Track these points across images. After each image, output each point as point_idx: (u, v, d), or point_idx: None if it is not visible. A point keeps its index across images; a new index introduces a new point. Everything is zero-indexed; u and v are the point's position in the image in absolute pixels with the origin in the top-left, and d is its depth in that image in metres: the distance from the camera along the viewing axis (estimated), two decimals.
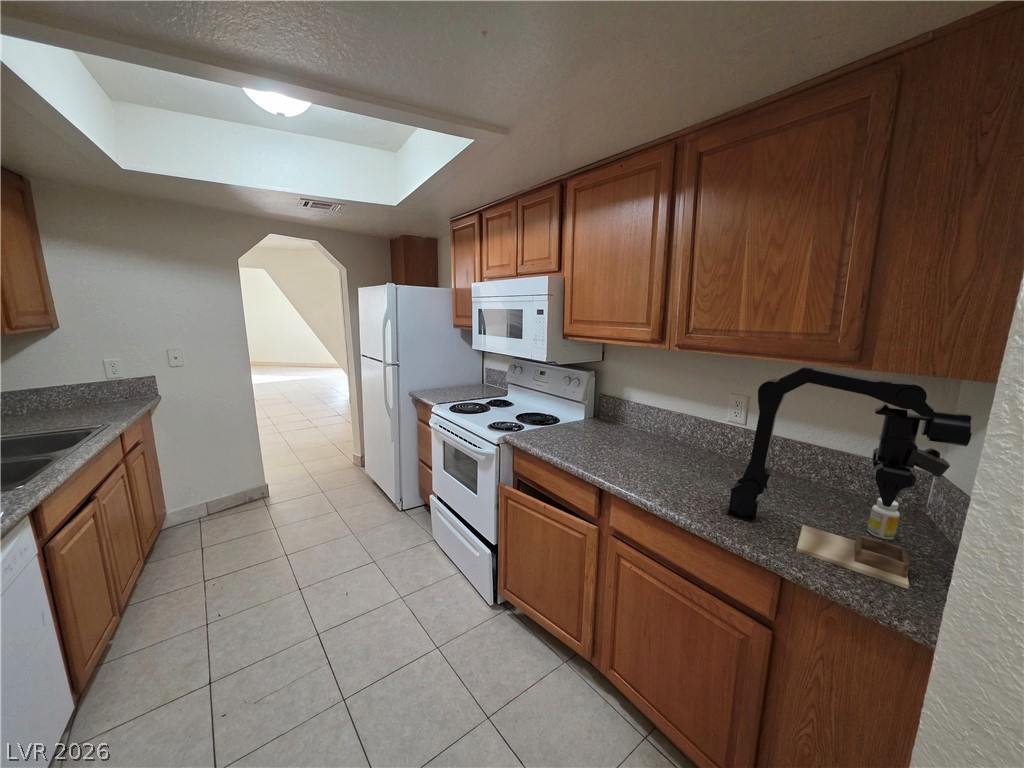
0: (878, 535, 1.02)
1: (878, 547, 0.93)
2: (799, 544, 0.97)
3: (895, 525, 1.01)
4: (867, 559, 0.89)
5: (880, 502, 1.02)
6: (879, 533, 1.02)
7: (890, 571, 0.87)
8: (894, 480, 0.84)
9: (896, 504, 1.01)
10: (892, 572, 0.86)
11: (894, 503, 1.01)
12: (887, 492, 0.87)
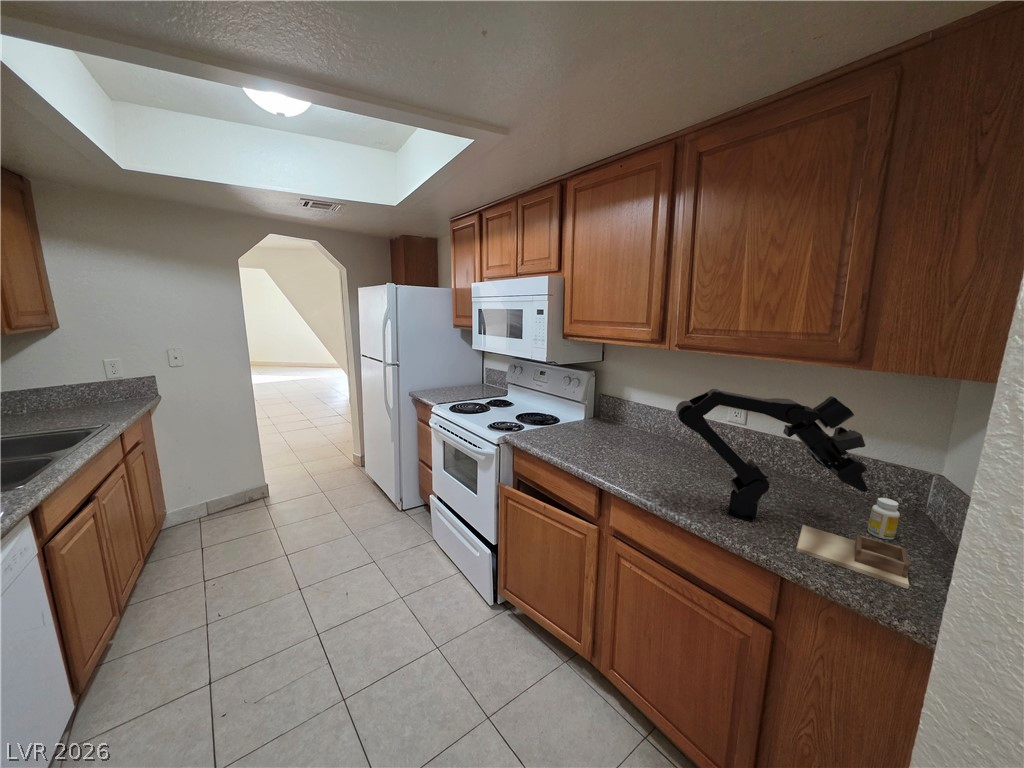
0: (878, 535, 1.02)
1: (878, 547, 0.93)
2: (799, 544, 0.97)
3: (895, 525, 1.01)
4: (867, 559, 0.89)
5: (880, 502, 1.02)
6: (879, 533, 1.02)
7: (890, 571, 0.87)
8: (854, 475, 0.95)
9: (896, 504, 1.01)
10: (892, 572, 0.86)
11: (894, 503, 1.01)
12: (856, 482, 0.98)
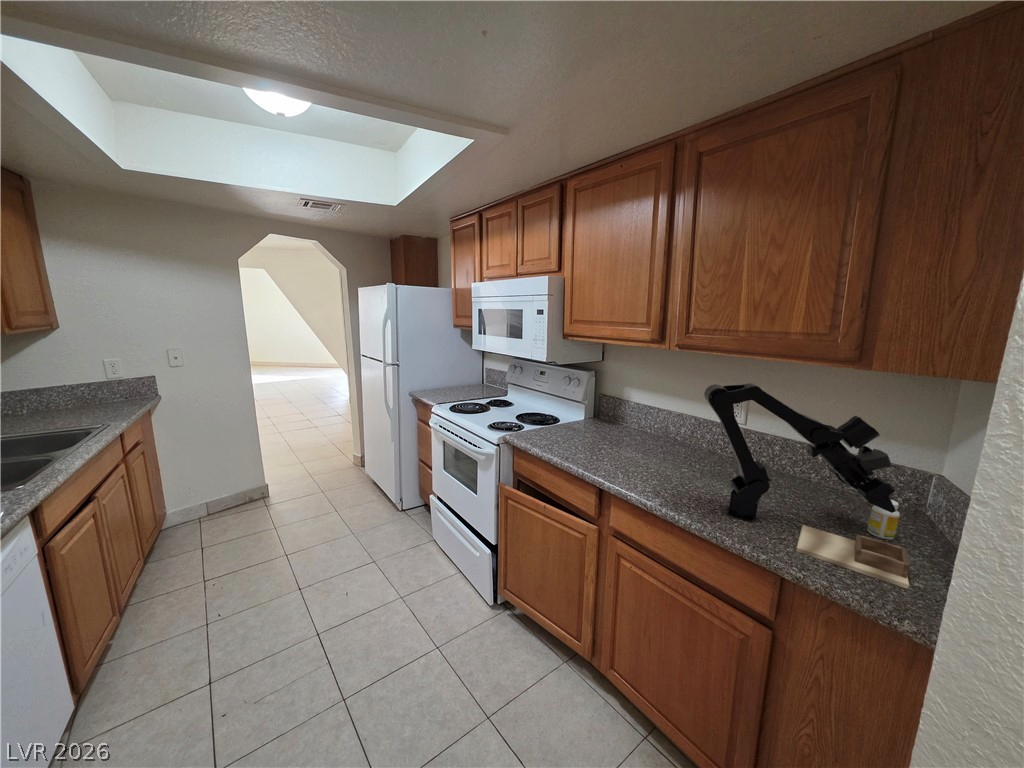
0: (878, 535, 1.02)
1: (878, 547, 0.93)
2: (799, 544, 0.97)
3: (895, 525, 1.01)
4: (867, 559, 0.89)
5: None
6: (879, 533, 1.02)
7: (890, 571, 0.87)
8: (882, 496, 0.94)
9: (896, 504, 1.01)
10: (892, 572, 0.86)
11: (894, 503, 1.01)
12: (884, 503, 0.98)
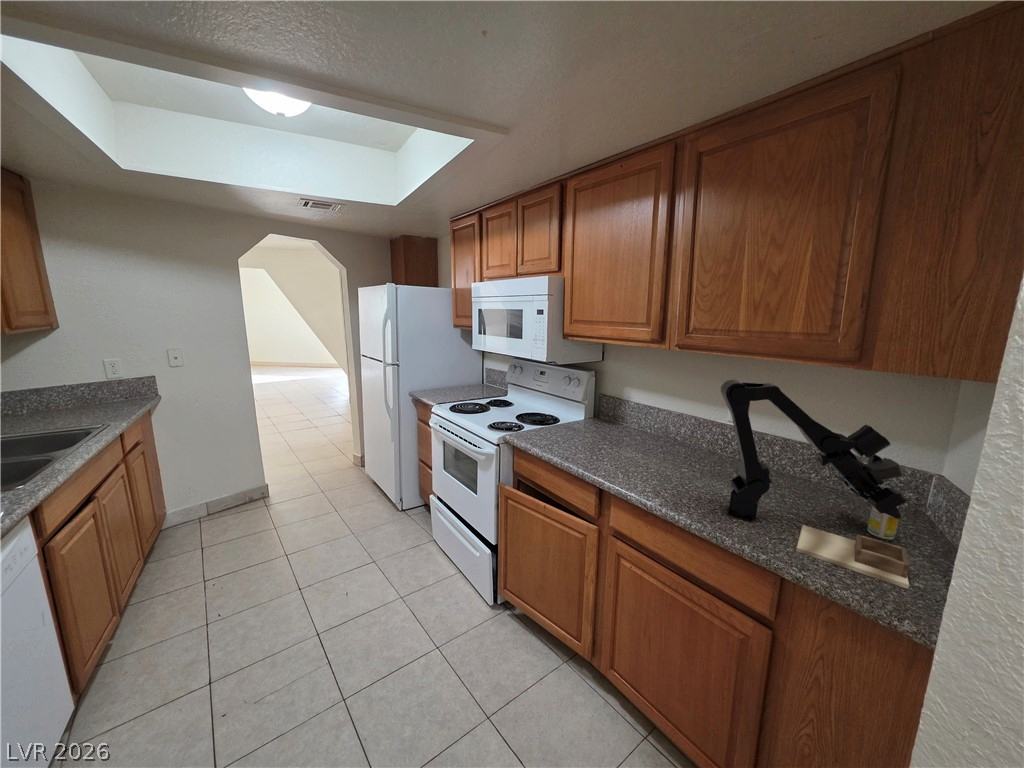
0: (878, 535, 1.02)
1: (878, 547, 0.93)
2: (799, 544, 0.97)
3: (895, 525, 1.01)
4: (867, 559, 0.89)
5: None
6: (879, 533, 1.02)
7: (890, 571, 0.87)
8: (893, 506, 0.94)
9: None
10: (892, 572, 0.86)
11: None
12: (890, 509, 0.99)
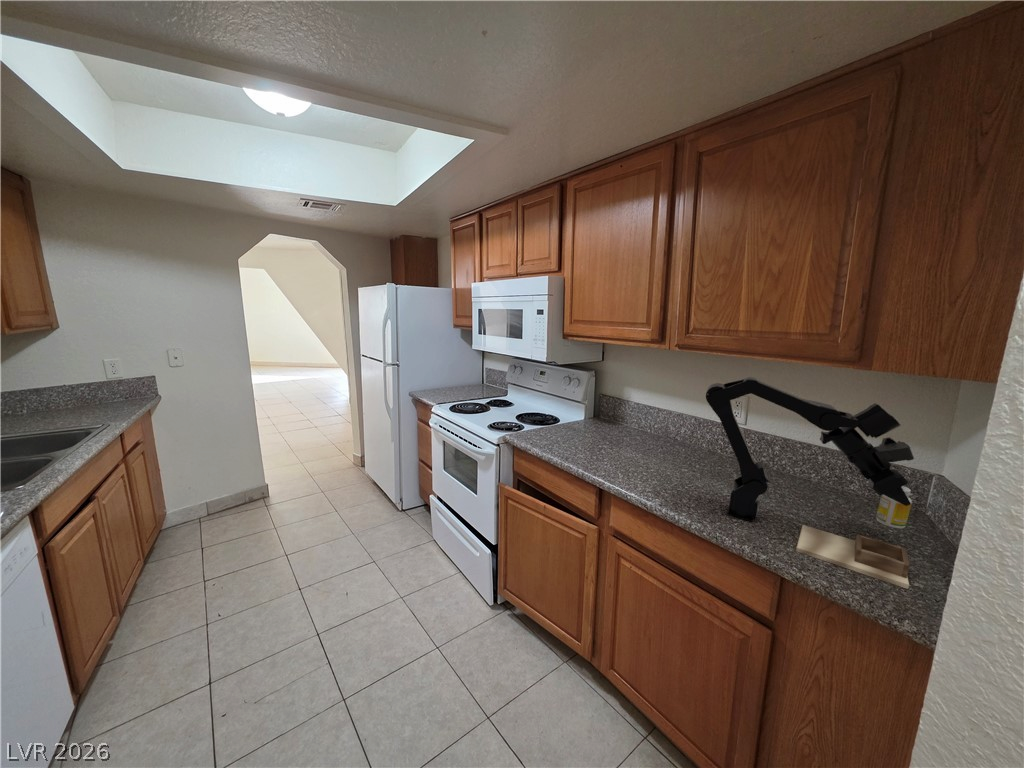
0: (885, 522, 0.96)
1: (878, 547, 0.93)
2: (799, 544, 0.97)
3: (905, 513, 0.94)
4: (867, 559, 0.89)
5: None
6: (886, 520, 0.96)
7: (890, 571, 0.87)
8: (892, 488, 0.88)
9: (907, 490, 0.93)
10: (892, 572, 0.86)
11: (905, 489, 0.94)
12: (896, 494, 0.92)
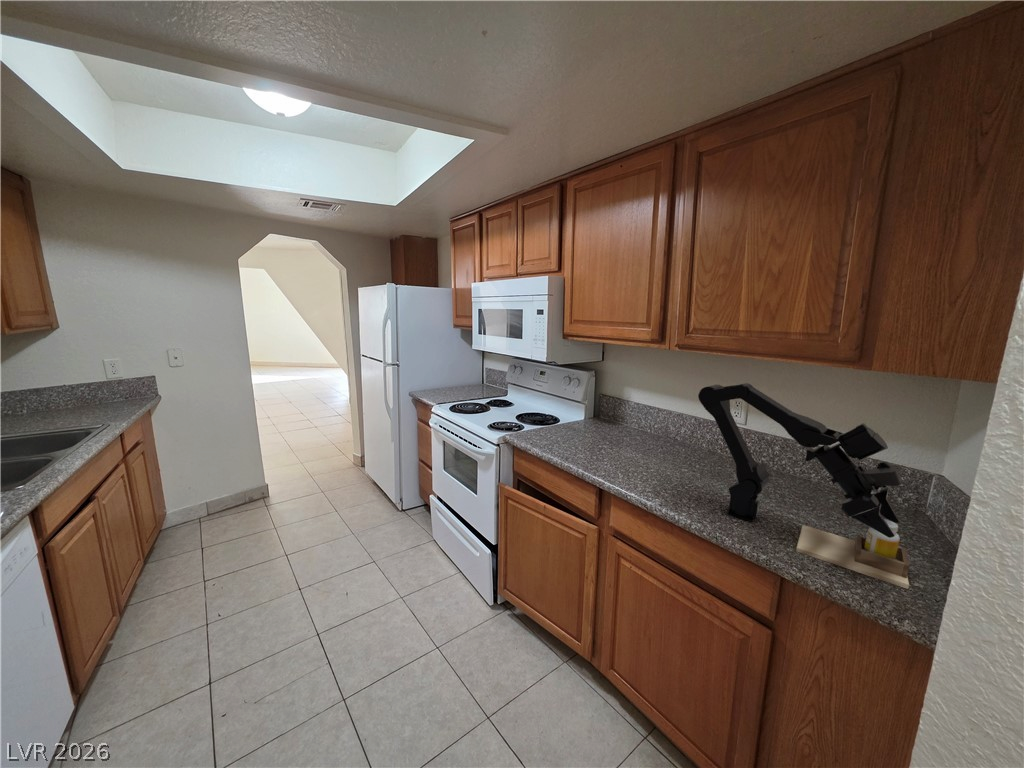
0: None
1: None
2: (799, 544, 0.97)
3: (888, 550, 0.88)
4: (867, 559, 0.89)
5: None
6: None
7: (890, 571, 0.87)
8: (859, 510, 0.85)
9: (891, 526, 0.88)
10: (892, 572, 0.86)
11: (890, 525, 0.88)
12: (875, 523, 0.86)
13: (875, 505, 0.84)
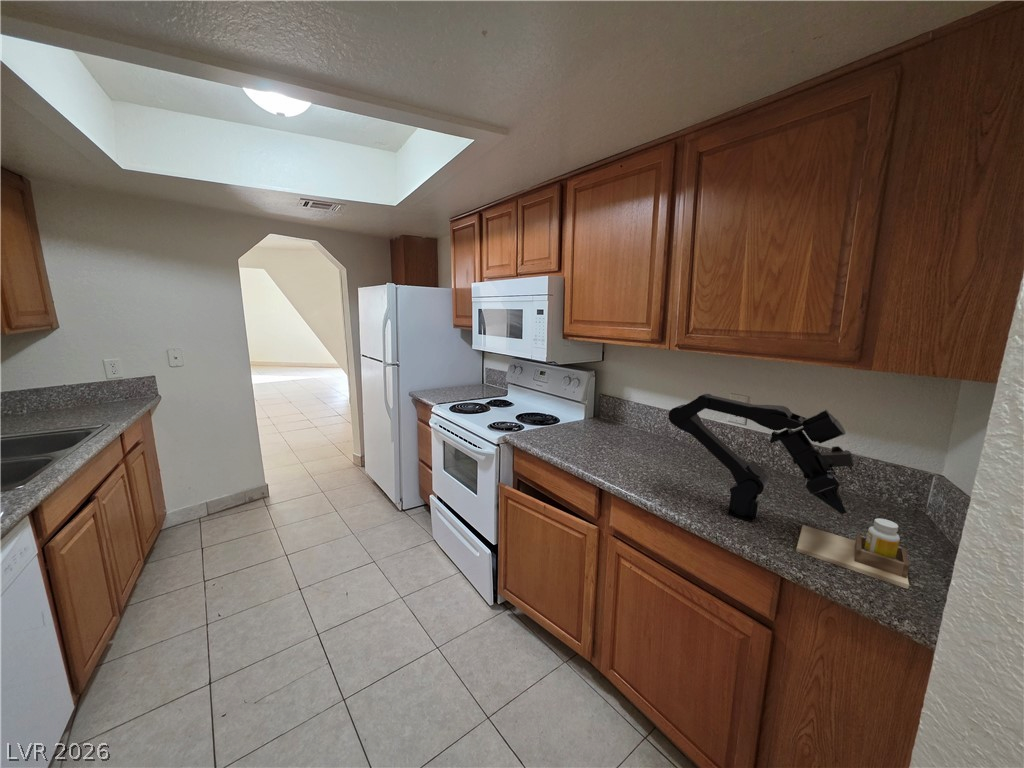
0: None
1: None
2: (799, 544, 0.97)
3: (888, 550, 0.88)
4: (867, 559, 0.89)
5: (874, 521, 0.90)
6: None
7: (890, 571, 0.87)
8: (823, 487, 0.91)
9: (891, 527, 0.88)
10: (892, 572, 0.86)
11: (890, 525, 0.88)
12: (832, 500, 0.93)
13: (837, 482, 0.90)
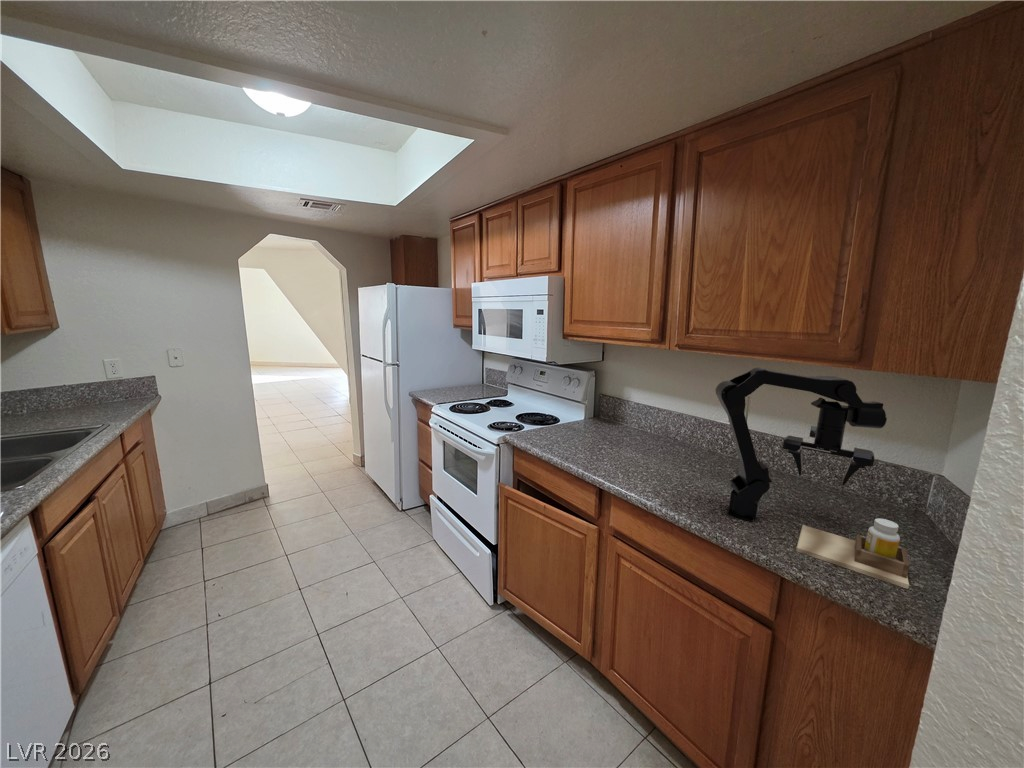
0: None
1: None
2: (799, 544, 0.97)
3: (888, 550, 0.88)
4: (867, 559, 0.89)
5: (874, 521, 0.90)
6: None
7: (890, 571, 0.87)
8: None
9: (892, 526, 0.88)
10: (892, 572, 0.86)
11: (891, 525, 0.88)
12: None
13: None
